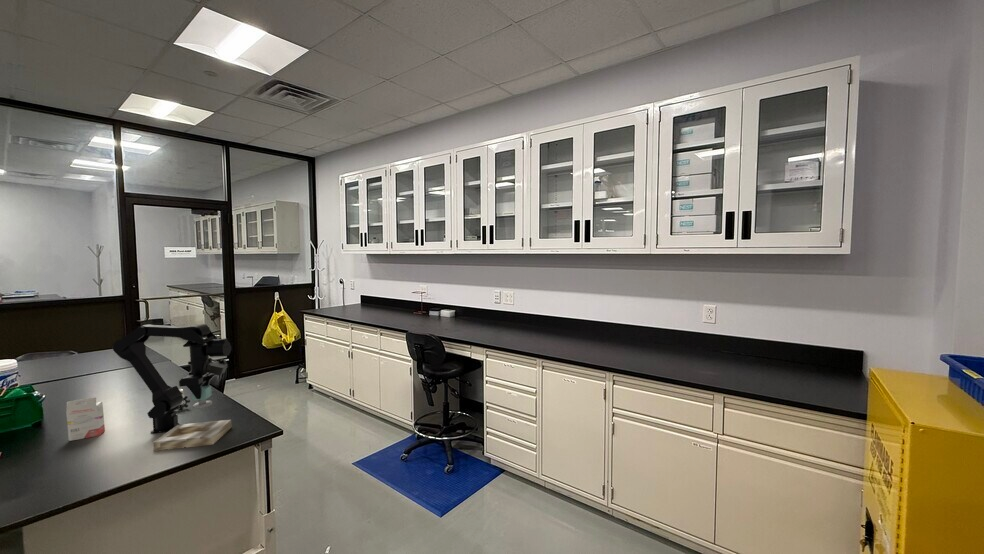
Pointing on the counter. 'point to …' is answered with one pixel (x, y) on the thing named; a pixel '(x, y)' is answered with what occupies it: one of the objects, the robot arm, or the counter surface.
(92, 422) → the ink cartridge box
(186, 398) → the valve
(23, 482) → the counter surface
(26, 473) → the counter surface
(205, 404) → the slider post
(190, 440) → the keyhole board
